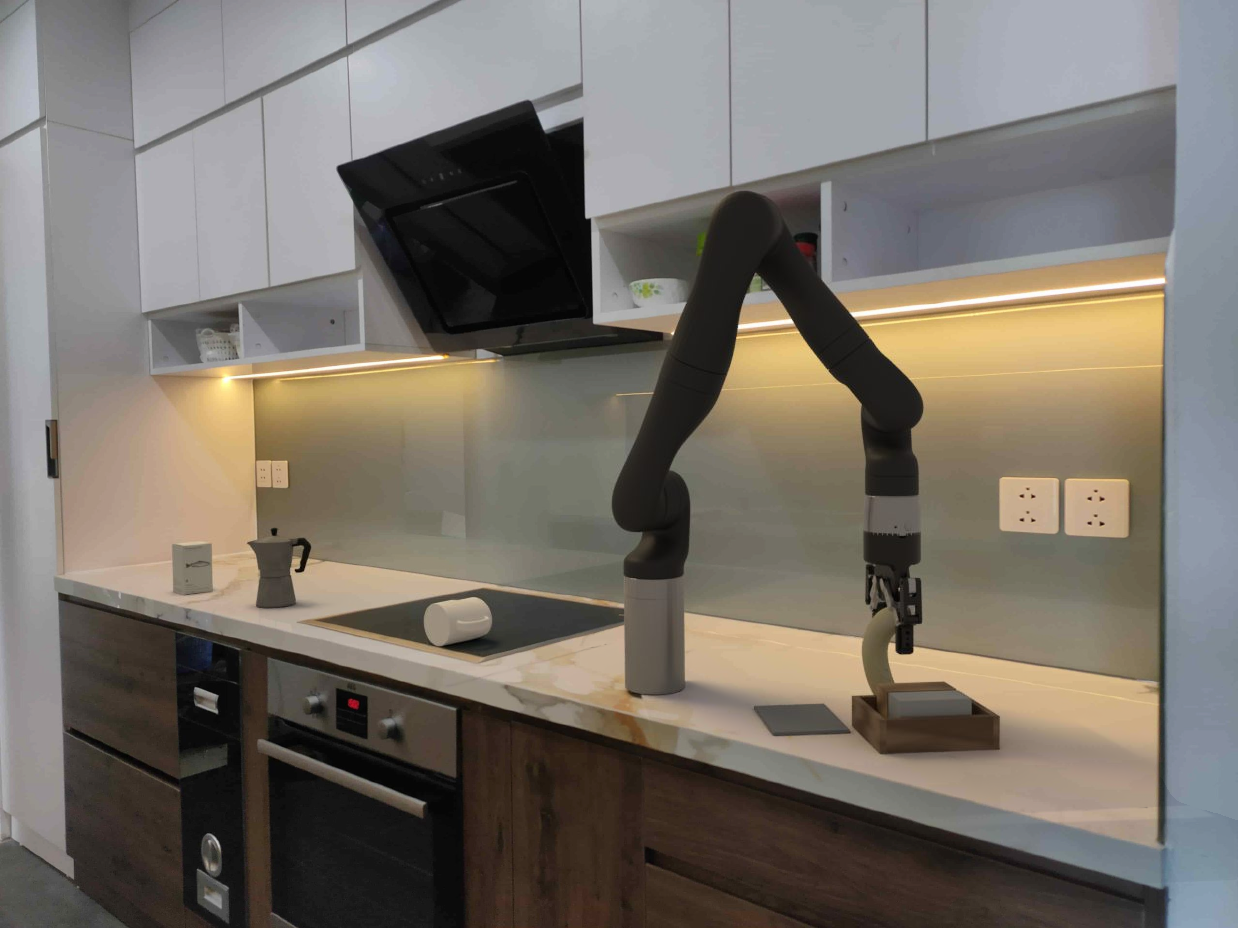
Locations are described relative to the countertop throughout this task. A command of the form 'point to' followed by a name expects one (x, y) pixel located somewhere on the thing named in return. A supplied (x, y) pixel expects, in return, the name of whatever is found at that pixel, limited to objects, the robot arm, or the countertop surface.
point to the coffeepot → (277, 568)
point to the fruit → (878, 649)
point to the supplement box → (192, 567)
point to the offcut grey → (929, 704)
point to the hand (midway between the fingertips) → (892, 646)
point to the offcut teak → (905, 687)
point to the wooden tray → (925, 729)
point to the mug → (457, 621)
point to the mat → (800, 719)
